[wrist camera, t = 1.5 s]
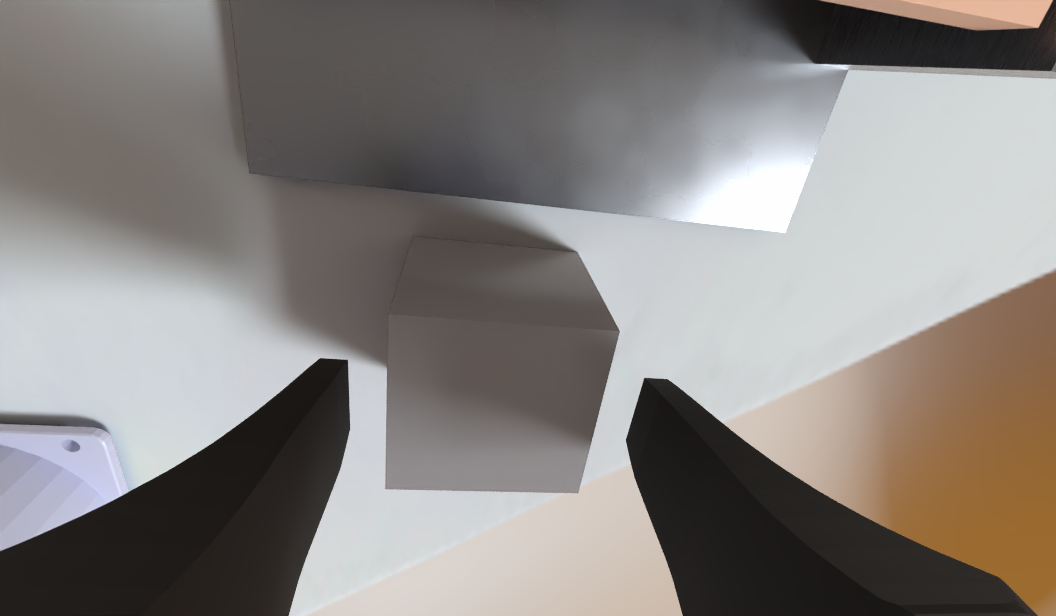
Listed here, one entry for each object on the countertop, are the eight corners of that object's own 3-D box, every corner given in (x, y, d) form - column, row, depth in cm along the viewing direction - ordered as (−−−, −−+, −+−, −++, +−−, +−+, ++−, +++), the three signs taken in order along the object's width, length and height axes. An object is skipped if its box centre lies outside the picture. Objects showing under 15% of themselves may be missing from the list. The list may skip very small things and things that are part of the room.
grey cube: (408, 374, 17) (385, 489, 12) (413, 235, 15) (387, 314, 10) (551, 382, 17) (578, 492, 13) (577, 251, 15) (619, 331, 11)
